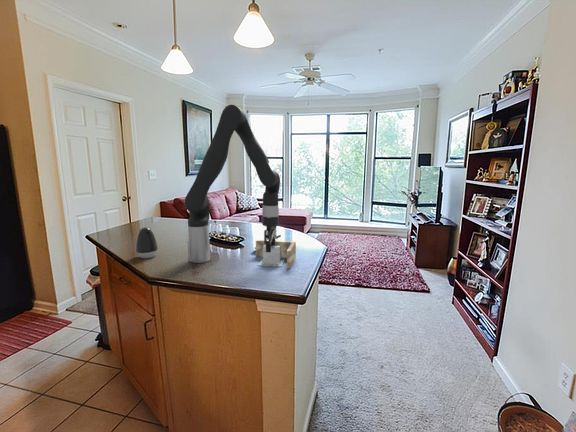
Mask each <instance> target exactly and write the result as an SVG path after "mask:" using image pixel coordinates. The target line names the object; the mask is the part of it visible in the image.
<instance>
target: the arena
mask: <svg viewBox="0 0 576 432" xmlns="http://www.w3.org/2000/svg"><path fill="white" fill-rule="evenodd" d="M264 245H266V244H264V239H262V240H259V239H256V240H255V247H256V249H255V256H256V257H259V258H260V257H262V258H263V246H264ZM275 246H280V247H281V259H282V258H283V259H284V258H285V259H286V269H291V268H292V266H293V264H294V262H295V260H296V258H297V254H296V253H297V248H296V246H297V241H287V240H286V241H285V240H276V241H275Z"/></svg>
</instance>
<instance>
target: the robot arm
mask: <svg viewBox="0 0 576 432" xmlns="http://www.w3.org/2000/svg"><path fill="white" fill-rule="evenodd" d="M234 132H235V133H236V134H237V136H238V138H240V140H241V142H242V145H243V146H244V150H245V153H246V155H247V156H248V159H249V160H250V161H251V163H252V165H253V167H254V169H255V172H256V174H257V176H258V179H259V181H260V183H261V184H262V185H263V186H265V187H264V188H265V191H264V193H263V194H262V209H261V211H262V212H261V213H262V215H261V221H262V224H261V225H262V226H263V227H266V229H264V231H263V240H264V244H266V252H271V246H275V240H277V239H276V236H277V227H278V226H279V224H280V219H279V218H280V217H279V215H280V209H279V192H280V186H281V177H280V174H279V172H277V171H276V170H272V167H271V166H270V164H269V163H270V160H269V157H268V156H267V155H266V153H265V151H264V149H263V148H262V147H261V145H260V143H259V141H258V140H257V138H256V136H255V135H254V132H253V130H252V128H251V126H250V124H249V121H248V118H247V115H246V113H245V111H244V110H242V109H241V108H240V107H239V106H237V105H235V104H229V105H227V106H225V107H224V108H223V110H222V112H221V114H220V118H219V121H218V124H217V126H216V130H215V133H214V135H213V137H212V139H211V142H210V144H209V146H208V148H207V149H206V150H207V151H206V153H205V154H204V157H203V159H202V163H201V165H200V167H199V169H198V172H197V174H196V177H195V180H194V182H193V183H192V185H191V187H190V188H189V190H188V192H187V194H186V195H185V198H184V207H185V209H186V210H187V211H188V212H190V214H189V218H188V220H187V224H188V225H187V227H188V240H189V241H187V257H188V262H191V263H195V264H200V263H201V264H202V263H207V262H209V261H210V260H211V249H210V248H211V247H210V246H211V245H210V229H209V228H210V227H209V221H210V200H209V197H208V193H209V190H210V188H211V186H212V185H213V183H214V182H215V181H216V179H217V178H218V177H219V175H220V174H221V173H222V171H223V169H224V166H225V163H226V162H227V159H228V155H229V147H230V141H231V138H232V136H233V135H234V134H233V133H234ZM268 240H269V241H268Z"/></svg>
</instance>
